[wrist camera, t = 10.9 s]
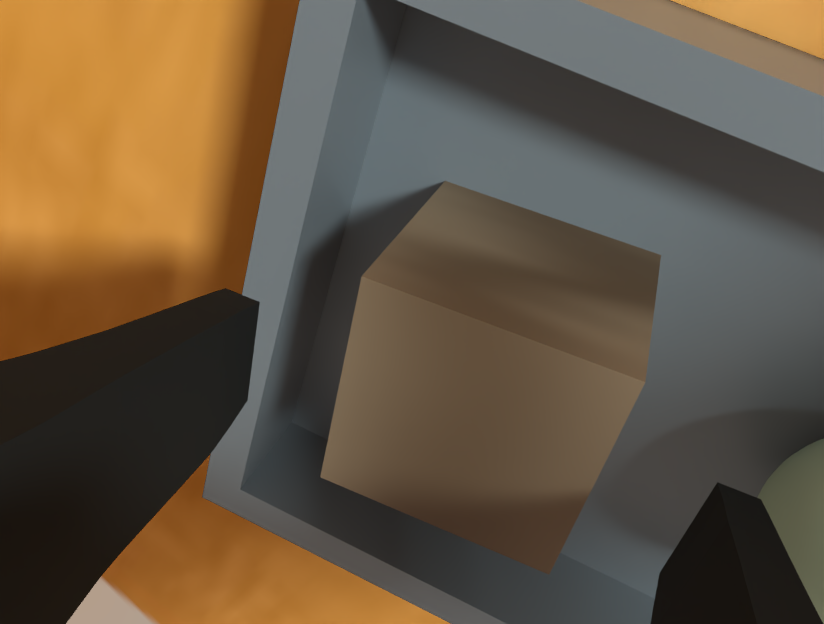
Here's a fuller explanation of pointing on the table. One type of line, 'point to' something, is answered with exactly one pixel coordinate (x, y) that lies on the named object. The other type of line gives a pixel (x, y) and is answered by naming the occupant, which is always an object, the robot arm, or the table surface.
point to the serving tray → (564, 200)
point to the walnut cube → (491, 371)
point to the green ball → (801, 515)
